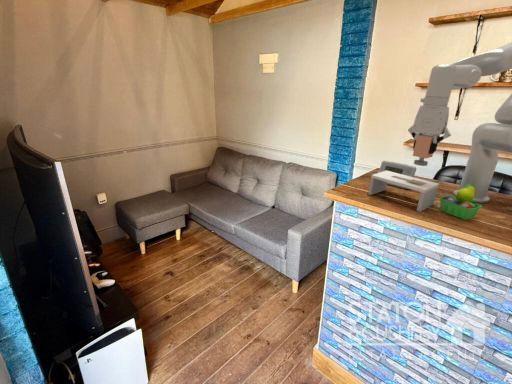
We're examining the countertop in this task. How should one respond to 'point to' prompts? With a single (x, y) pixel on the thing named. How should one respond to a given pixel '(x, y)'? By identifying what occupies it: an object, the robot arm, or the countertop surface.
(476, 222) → the countertop surface
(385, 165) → the digital clock
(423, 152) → the peg
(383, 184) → the keyhole board
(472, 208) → the fruit basket
